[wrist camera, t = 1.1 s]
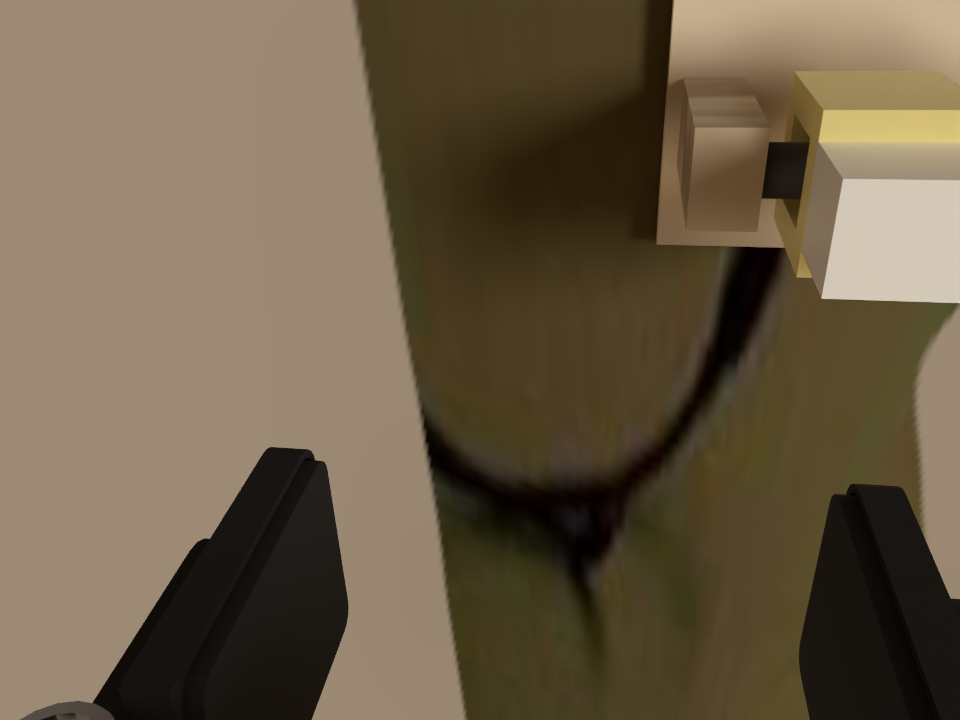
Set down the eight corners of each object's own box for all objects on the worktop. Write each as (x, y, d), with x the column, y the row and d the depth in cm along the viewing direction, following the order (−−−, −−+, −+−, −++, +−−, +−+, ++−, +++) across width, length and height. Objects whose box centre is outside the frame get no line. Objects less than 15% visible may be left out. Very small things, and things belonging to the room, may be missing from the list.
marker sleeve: (794, 71, 25) (849, 143, 19) (938, 70, 25) (1045, 144, 18) (773, 217, 28) (815, 327, 21) (904, 220, 27) (989, 334, 21)
